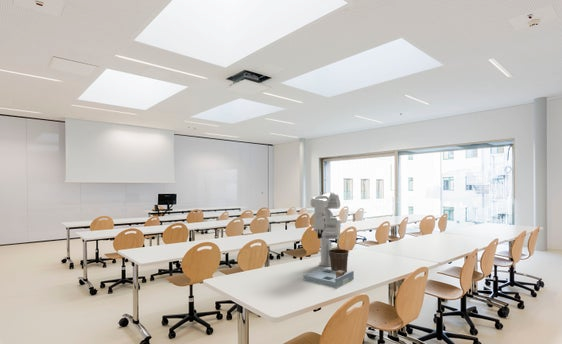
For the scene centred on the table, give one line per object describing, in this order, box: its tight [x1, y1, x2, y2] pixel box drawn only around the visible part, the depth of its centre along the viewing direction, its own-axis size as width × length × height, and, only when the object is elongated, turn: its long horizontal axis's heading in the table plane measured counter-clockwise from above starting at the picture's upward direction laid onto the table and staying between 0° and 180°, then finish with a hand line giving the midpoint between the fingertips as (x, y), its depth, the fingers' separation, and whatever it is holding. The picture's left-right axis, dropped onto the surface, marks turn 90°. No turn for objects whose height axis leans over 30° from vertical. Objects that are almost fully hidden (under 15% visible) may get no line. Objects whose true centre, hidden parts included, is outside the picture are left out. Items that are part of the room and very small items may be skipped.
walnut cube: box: [336, 270, 345, 278], centre depth 218 cm, size 4×4×4 cm
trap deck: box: [303, 268, 355, 288], centre depth 225 cm, size 24×28×6 cm
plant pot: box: [328, 248, 350, 273], centre depth 245 cm, size 16×16×16 cm
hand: (319, 238), depth 242 cm, fingers closed
